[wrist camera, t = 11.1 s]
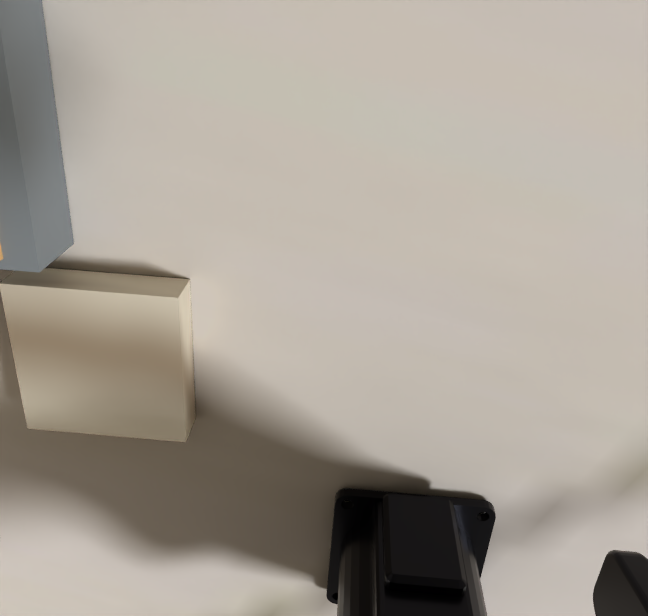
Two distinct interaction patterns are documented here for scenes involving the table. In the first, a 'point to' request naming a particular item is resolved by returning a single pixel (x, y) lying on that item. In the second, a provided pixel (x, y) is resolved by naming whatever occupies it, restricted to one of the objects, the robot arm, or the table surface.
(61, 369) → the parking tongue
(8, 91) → the hole plate
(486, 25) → the table surface
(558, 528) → the table surface
